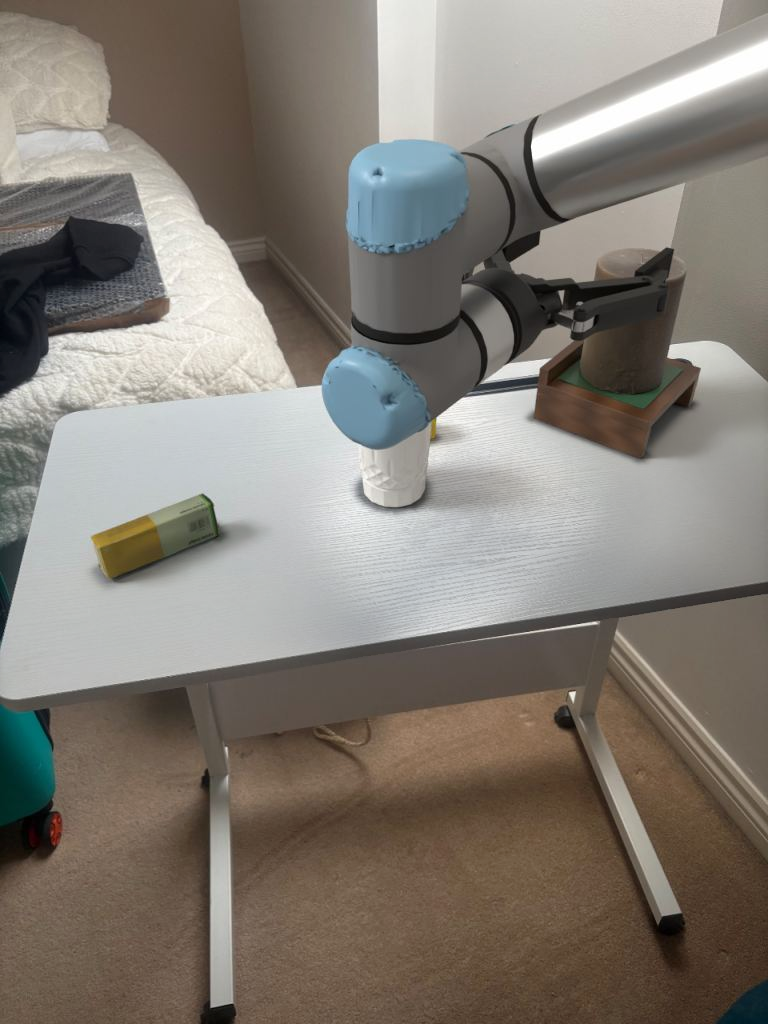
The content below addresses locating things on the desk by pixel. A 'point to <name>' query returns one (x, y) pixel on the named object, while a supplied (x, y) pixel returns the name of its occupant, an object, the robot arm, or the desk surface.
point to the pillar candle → (632, 331)
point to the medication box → (155, 535)
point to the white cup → (396, 470)
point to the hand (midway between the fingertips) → (599, 245)
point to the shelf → (608, 402)
